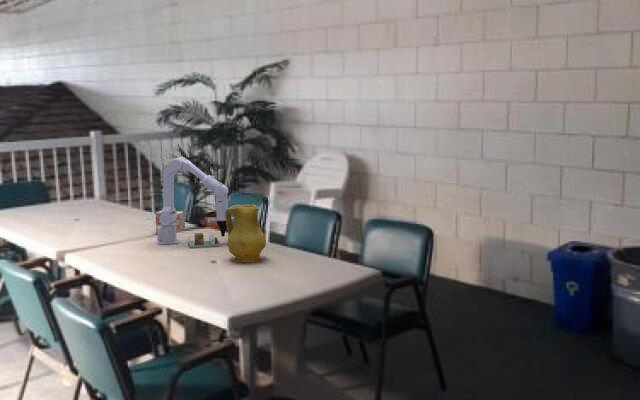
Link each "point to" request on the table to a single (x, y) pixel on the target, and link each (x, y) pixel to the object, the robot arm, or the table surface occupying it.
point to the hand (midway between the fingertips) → (223, 235)
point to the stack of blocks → (179, 222)
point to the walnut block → (199, 239)
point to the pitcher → (244, 233)
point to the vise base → (206, 244)
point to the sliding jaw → (212, 239)
